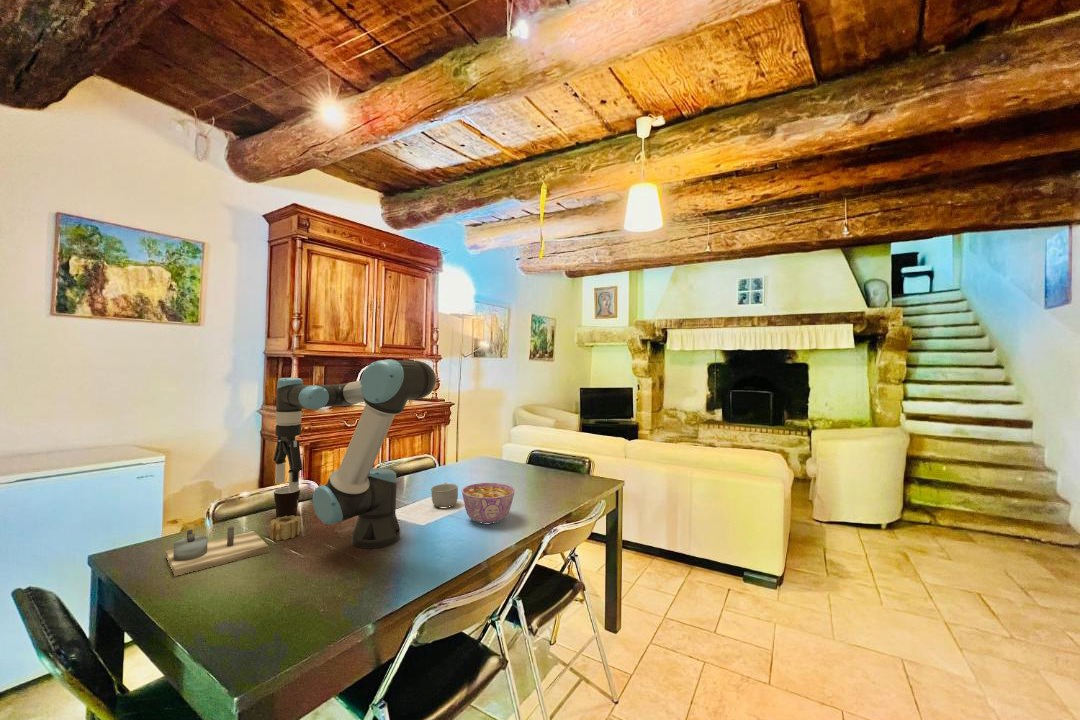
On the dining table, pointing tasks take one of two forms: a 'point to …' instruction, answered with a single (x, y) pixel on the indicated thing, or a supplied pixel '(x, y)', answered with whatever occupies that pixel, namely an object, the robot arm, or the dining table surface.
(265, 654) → the dining table surface
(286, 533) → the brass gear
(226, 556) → the birch board
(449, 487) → the teacup
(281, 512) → the coffee mug
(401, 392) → the robot arm
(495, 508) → the bowl of food
